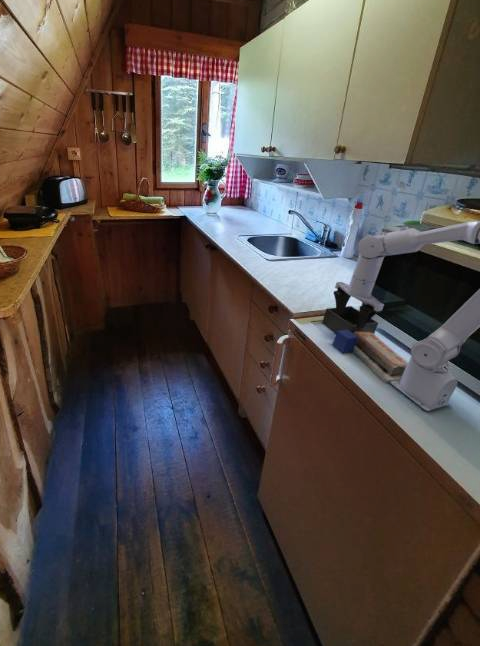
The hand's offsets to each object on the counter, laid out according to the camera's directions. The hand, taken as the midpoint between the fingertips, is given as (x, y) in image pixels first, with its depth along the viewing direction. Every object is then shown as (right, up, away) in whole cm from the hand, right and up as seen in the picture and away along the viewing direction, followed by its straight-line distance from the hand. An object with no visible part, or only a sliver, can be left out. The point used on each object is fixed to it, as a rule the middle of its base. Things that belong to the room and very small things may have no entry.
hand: (349, 320), depth 89 cm
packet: (-1, -8, +2) cm, 9 cm away
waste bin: (+5, -5, +12) cm, 14 cm away
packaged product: (+7, -12, -2) cm, 14 cm away
